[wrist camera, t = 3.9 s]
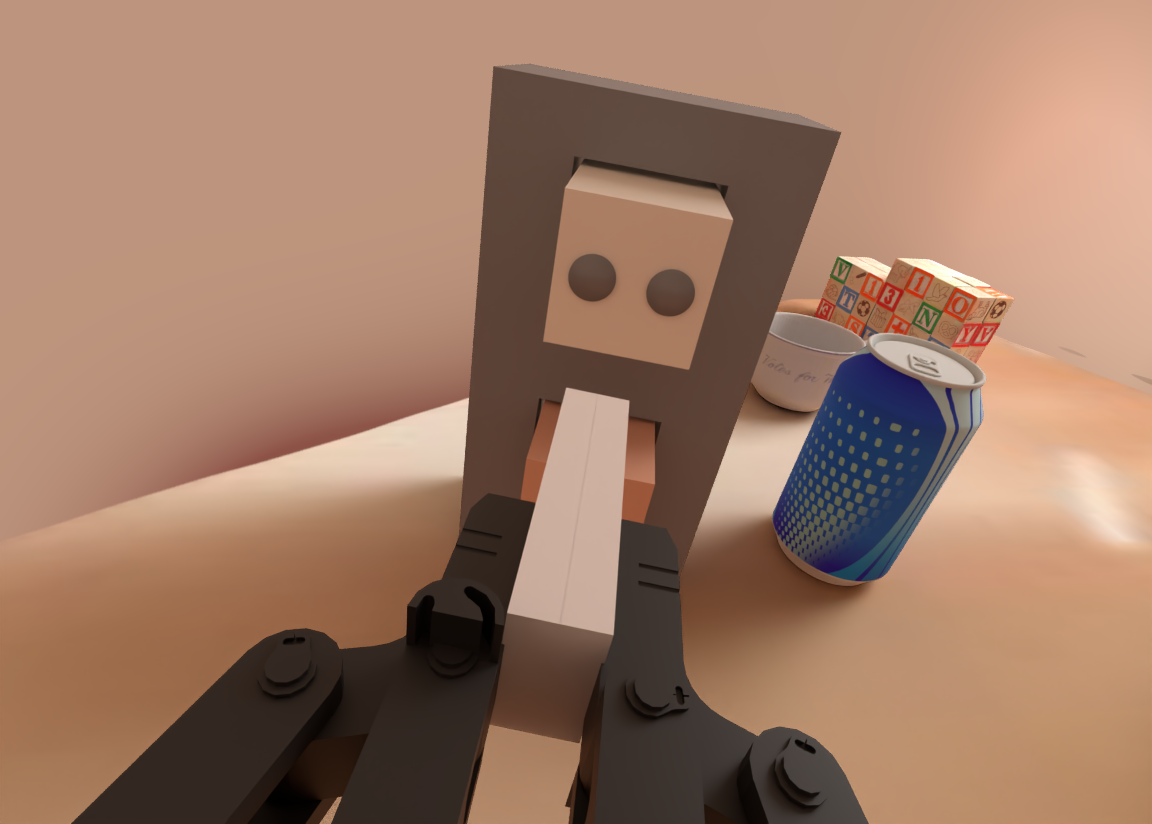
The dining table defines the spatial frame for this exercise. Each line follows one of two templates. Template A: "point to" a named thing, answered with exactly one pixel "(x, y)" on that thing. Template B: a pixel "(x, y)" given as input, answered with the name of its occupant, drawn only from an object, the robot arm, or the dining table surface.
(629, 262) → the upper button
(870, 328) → the stack of blocks
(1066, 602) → the dining table surface
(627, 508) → the lower button
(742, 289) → the button post
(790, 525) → the beer can
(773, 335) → the teacup
